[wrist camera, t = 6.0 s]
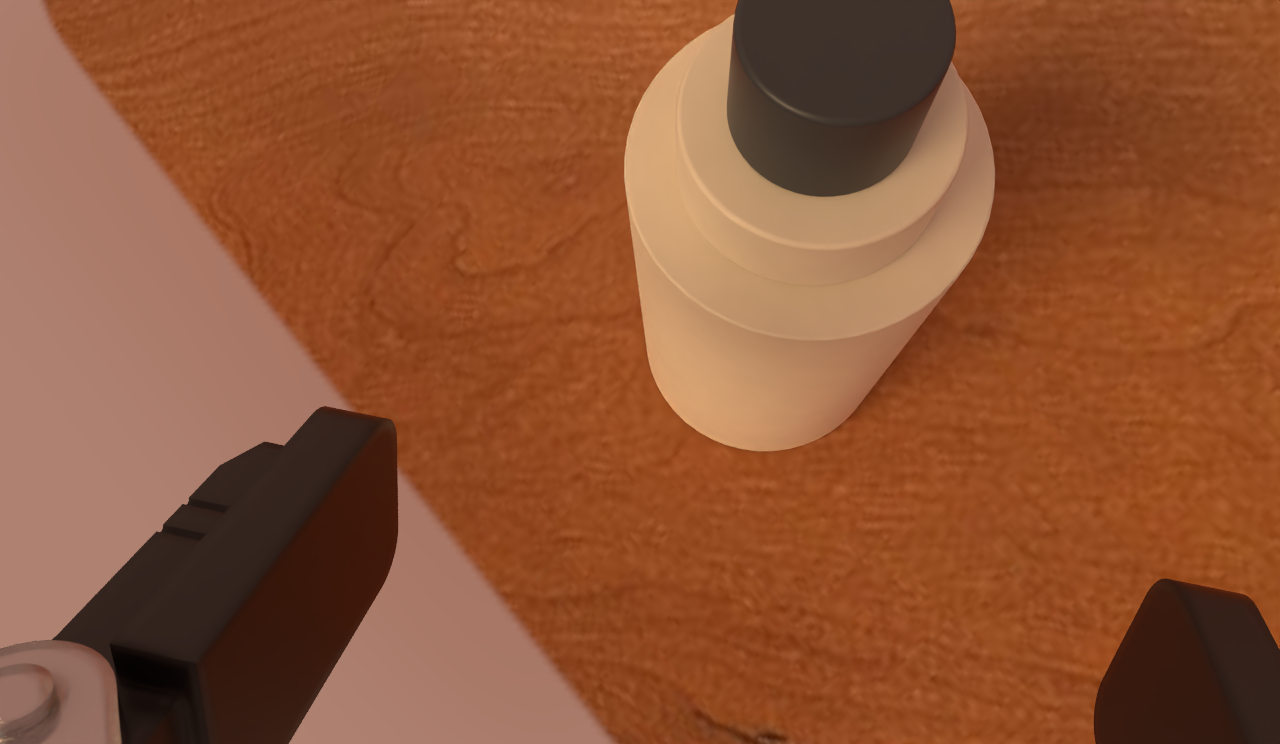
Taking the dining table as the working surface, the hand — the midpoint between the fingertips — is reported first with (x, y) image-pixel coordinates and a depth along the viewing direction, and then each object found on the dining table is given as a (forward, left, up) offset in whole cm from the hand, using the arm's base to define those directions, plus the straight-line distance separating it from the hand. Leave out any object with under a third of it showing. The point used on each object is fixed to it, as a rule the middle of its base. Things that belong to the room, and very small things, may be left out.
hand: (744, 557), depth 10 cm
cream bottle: (0, +6, -12) cm, 13 cm away
